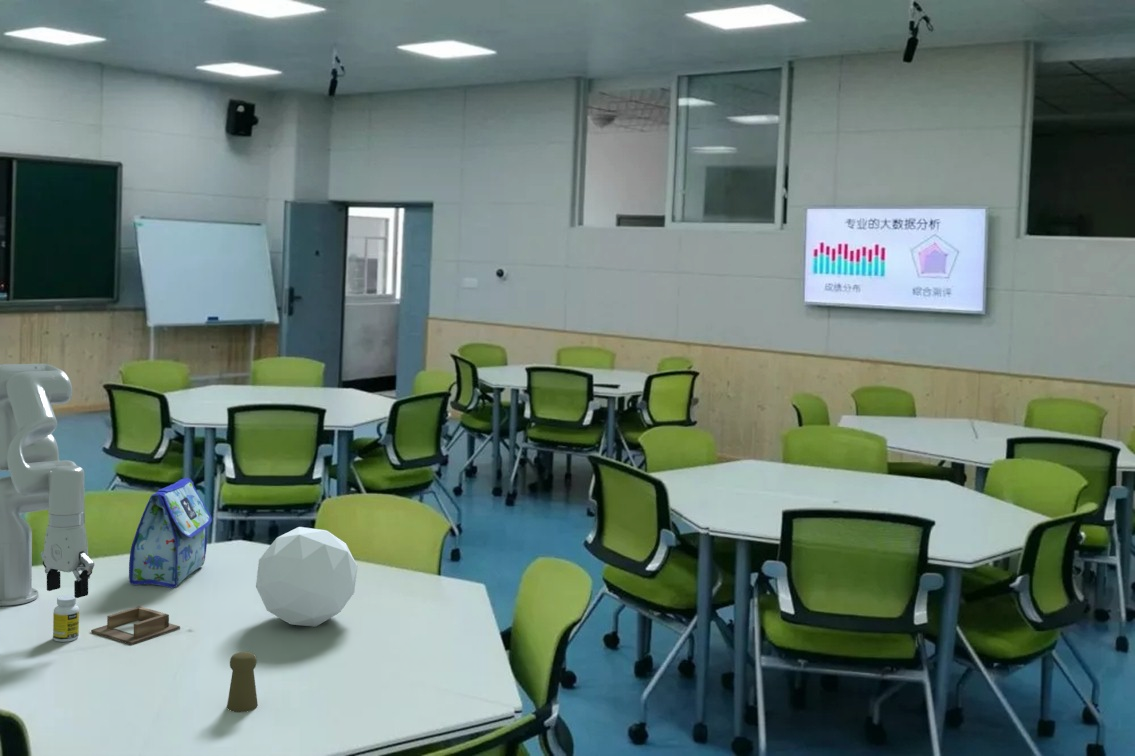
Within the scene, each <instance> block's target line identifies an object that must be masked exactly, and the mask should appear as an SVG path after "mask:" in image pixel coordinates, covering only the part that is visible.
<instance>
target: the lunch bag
mask: <svg viewBox="0 0 1135 756" xmlns="http://www.w3.org/2000/svg"><path fill="white" fill-rule="evenodd" d="M212 521H213V520H212V516H211V513H210V511H209V509H208V508H207V507H206V505H205V503H204V502H203V500H202V499H201V497H200V495H199V493H198V491H197V489H196V487H195V484H194V481H192V479H190V477H186V478H182V479H179V480H177V482H176V481H175V483H172V484H170V485H167V486H166V487H163V488H160V489H158V490H157V491H156V492H154V493H153V494H151V495H150V498H149V499H148V501H147V504H146V505H145V508H144V511H143V513H142V516H141V517H140V520H139V524H138V526H137V528H136V531H135V534H134V537H133V540H132V543H131V548H130V550H129V551H130V552H129V563H128V579H129V584H131V585H134V586H137V585H155V586H162V587H165V588H166V587H167V588H170V589H174V588H176V587H178V586H179V585H180V584H181V582H183V580H185V579H186V578H187V577H189V576H190V575H191V574H192V573H193V572H194V571H196V570H198V569H200V568H202V567H203V566H204V564H205V561H206V553H207V546H208V544H207V543H208V533H207V532H208V530H207V529H208V526H210V525H211V524H212Z"/></svg>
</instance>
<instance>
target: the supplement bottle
mask: <svg viewBox="0 0 1135 756" xmlns="http://www.w3.org/2000/svg"><path fill="white" fill-rule="evenodd" d="M76 603H77V598H75V596H74V595H70V594H66V595H61V596H58V597H57V599H56V604H57V606H55V607H54V609H53V611H52V612H53V613H52V614H53V615H52V617H53V618H52V619H53V620H52V621H53V622H52V623H53V624H52V627H53V628H52V631H53V632H52V639H53V640H54V641H56V642H61V643H66V642H72V641H75V640H77V639H78V638H79V633H80V630H79V629H80V628H79V625H80V624H79V623H80V608H79V606H78V605H76Z"/></svg>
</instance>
